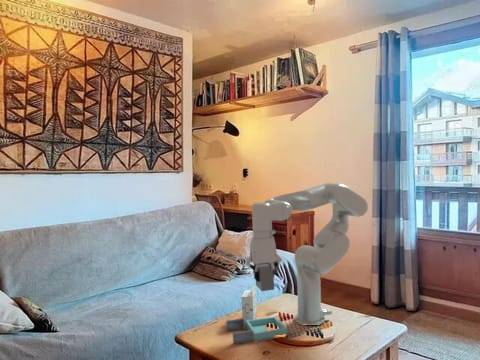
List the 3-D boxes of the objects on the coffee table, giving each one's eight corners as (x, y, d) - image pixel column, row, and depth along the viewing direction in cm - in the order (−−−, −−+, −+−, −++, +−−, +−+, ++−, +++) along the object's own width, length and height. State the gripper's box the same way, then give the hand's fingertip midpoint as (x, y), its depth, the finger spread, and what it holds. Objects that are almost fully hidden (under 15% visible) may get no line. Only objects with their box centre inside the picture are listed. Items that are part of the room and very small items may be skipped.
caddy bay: (243, 328, 159) (243, 318, 158) (251, 341, 147) (251, 331, 146) (226, 330, 157) (226, 320, 157) (233, 344, 145) (233, 333, 145)
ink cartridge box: (245, 316, 171) (244, 282, 170) (256, 316, 170) (256, 283, 169) (241, 324, 163) (240, 289, 162) (253, 324, 162) (252, 289, 161)
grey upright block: (267, 283, 158) (266, 263, 158) (274, 289, 150) (273, 269, 150) (255, 285, 157) (254, 265, 156) (261, 291, 149) (260, 270, 149)
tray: (275, 323, 162) (275, 316, 162) (287, 336, 150) (287, 329, 150) (245, 327, 159) (245, 320, 159) (254, 341, 147) (254, 333, 146)
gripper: (279, 230, 158) (281, 274, 159) (239, 234, 154) (241, 279, 155) (286, 234, 151) (288, 280, 152) (243, 238, 147) (246, 285, 148)
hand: (264, 279), depth 153 cm, fingers closed on grey upright block, 5 cm apart
